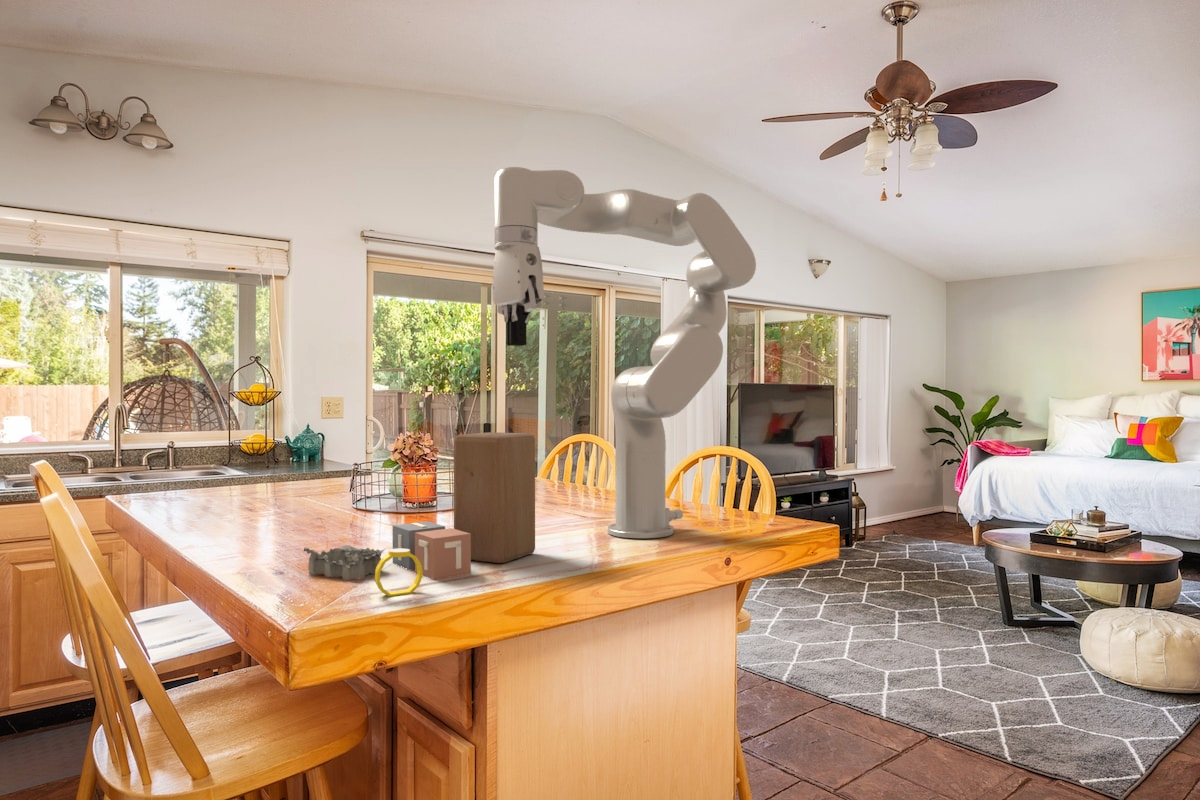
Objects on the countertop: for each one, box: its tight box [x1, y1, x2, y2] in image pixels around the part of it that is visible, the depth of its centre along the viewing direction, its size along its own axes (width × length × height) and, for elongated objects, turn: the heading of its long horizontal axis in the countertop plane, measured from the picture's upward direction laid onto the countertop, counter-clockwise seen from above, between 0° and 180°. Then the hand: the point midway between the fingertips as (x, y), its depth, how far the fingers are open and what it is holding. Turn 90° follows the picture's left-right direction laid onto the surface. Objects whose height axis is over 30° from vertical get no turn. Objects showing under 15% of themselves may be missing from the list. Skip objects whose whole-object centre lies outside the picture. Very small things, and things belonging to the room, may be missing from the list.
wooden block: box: [453, 431, 536, 564], centre depth 122 cm, size 10×10×20 cm
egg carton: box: [303, 544, 386, 580], centre depth 112 cm, size 11×8×4 cm
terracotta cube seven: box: [414, 527, 472, 581], centre depth 111 cm, size 6×6×6 cm
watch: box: [374, 548, 423, 597], centre depth 99 cm, size 6×3×6 cm, turn 121°
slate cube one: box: [392, 521, 446, 571], centre depth 117 cm, size 6×6×6 cm
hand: (516, 345), depth 132 cm, fingers closed
